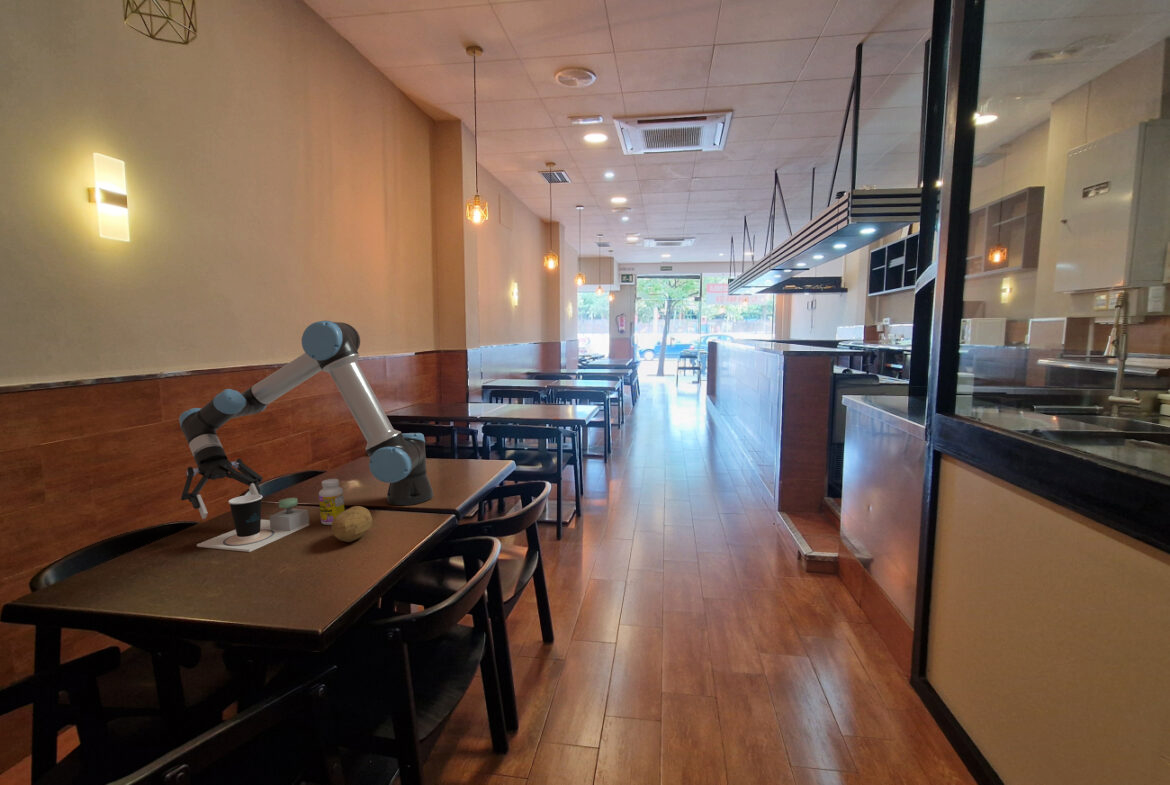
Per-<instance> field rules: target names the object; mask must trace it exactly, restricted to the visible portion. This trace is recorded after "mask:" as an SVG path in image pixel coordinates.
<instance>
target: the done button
mask: <svg viewBox="0 0 1170 785" xmlns="http://www.w3.org/2000/svg"><path fill="white" fill-rule="evenodd" d="M295 506H298V497H287V498H283V499H280V500H278V508H280V509H285V510H286V514H291V513H292V509H293V508H294V507H295Z"/></svg>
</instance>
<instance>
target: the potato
mask: <svg viewBox="0 0 1170 785" xmlns="http://www.w3.org/2000/svg"><path fill="white" fill-rule="evenodd" d="M372 524H373V517H372V513H371V512H370V510H369V509H368V508H366V507H364V506H360V505H355V506H351V507H349V508H348V509H346V510H345V511H344V512H342V513H340V514H338V515H337V516H336V517H335V518H334V520H333V522H332V525H330V526H331V532H332V534H333V537H335V538H336V539H338V540H339V541H342V542H346V543H352V542H353V541H356V540H358V539H360V538H361V537H363V536H364V535H365V534H366V533H368V531H369V530H370V529H371V527H372Z"/></svg>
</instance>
